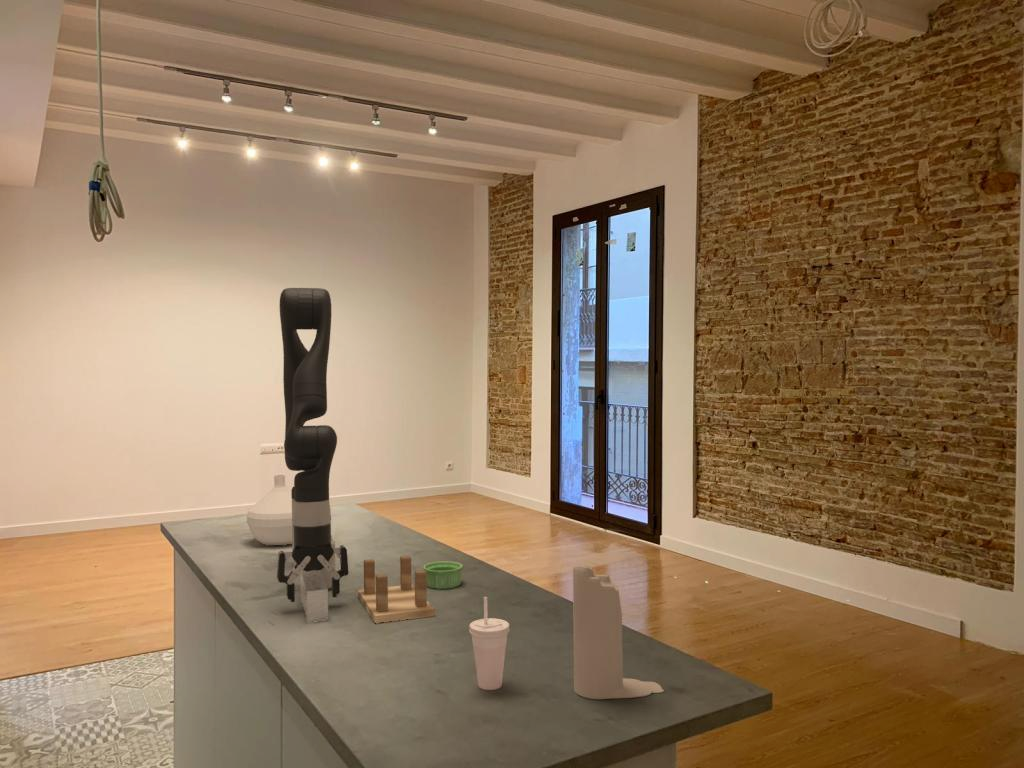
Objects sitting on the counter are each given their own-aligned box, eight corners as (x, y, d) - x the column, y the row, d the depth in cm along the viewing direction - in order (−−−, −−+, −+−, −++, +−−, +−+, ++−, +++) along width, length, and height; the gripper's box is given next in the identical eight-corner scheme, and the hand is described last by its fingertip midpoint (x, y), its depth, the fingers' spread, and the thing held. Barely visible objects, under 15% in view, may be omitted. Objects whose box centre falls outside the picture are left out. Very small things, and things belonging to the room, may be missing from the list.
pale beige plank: (300, 598, 174) (300, 569, 174) (319, 596, 175) (318, 567, 175) (307, 624, 157) (307, 591, 157) (328, 621, 158) (327, 589, 158)
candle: (668, 696, 121) (667, 565, 120) (578, 700, 120) (577, 568, 119) (656, 678, 128) (655, 554, 127) (570, 681, 127) (569, 557, 126)
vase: (327, 539, 231) (326, 473, 230) (277, 552, 215) (276, 482, 215) (283, 532, 241) (282, 469, 240) (233, 544, 225) (231, 477, 225)
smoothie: (469, 677, 129) (468, 592, 128) (508, 676, 129) (507, 590, 129) (470, 694, 122) (469, 604, 122) (512, 692, 123) (511, 602, 123)
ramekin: (470, 584, 183) (470, 565, 183) (441, 592, 177) (441, 573, 177) (444, 577, 190) (444, 559, 189) (415, 585, 183) (415, 566, 183)
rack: (357, 597, 174) (357, 558, 173) (411, 590, 178) (411, 553, 178) (375, 623, 156) (374, 580, 156) (434, 616, 160) (433, 574, 160)
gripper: (343, 515, 171) (345, 590, 172) (275, 521, 166) (276, 598, 167) (349, 522, 164) (351, 599, 165) (278, 527, 159) (279, 608, 160)
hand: (313, 598), depth 166 cm, fingers open, 8 cm apart
